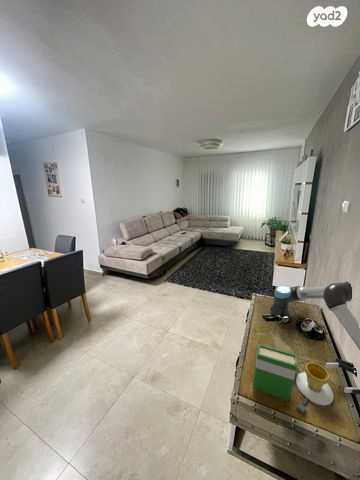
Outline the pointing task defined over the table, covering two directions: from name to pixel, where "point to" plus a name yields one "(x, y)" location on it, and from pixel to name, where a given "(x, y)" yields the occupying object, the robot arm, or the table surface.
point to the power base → (313, 393)
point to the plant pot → (316, 375)
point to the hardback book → (274, 372)
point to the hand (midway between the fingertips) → (334, 376)
